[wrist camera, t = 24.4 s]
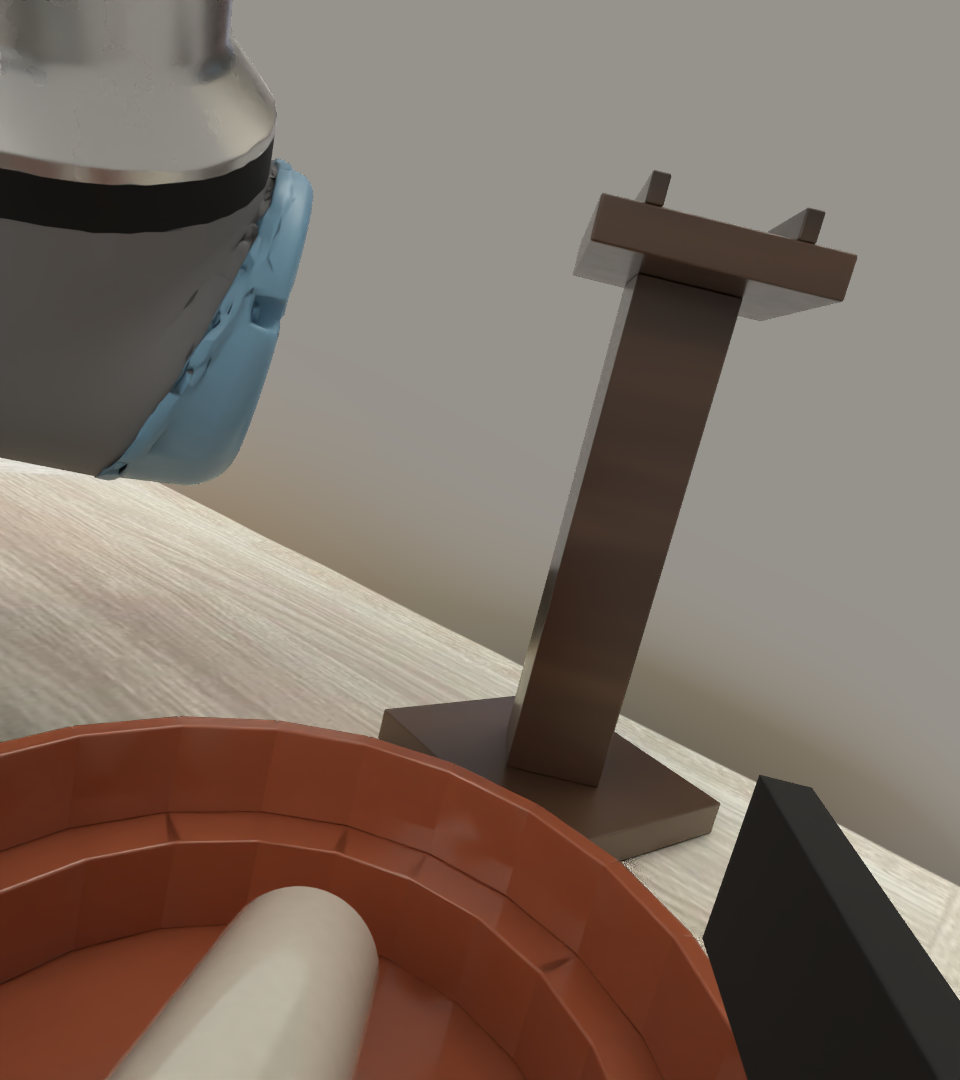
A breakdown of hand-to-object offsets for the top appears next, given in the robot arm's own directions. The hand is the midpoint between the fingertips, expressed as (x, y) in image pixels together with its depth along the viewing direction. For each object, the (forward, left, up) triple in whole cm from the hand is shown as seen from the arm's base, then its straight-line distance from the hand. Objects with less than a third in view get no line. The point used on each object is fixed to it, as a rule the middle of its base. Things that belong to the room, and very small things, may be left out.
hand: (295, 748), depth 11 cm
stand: (-12, +20, -11) cm, 26 cm away
